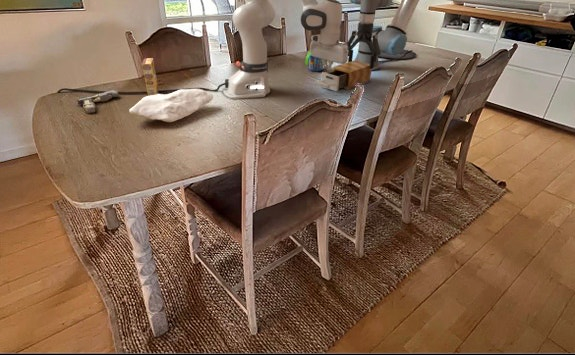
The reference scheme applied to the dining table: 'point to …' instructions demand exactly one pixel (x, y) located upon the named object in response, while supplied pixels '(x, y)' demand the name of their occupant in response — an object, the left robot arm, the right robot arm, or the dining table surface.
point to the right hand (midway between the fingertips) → (360, 65)
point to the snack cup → (314, 62)
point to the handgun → (95, 100)
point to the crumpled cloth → (171, 104)
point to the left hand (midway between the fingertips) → (327, 69)
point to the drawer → (333, 80)
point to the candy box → (150, 76)
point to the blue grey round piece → (399, 55)
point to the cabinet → (355, 72)
